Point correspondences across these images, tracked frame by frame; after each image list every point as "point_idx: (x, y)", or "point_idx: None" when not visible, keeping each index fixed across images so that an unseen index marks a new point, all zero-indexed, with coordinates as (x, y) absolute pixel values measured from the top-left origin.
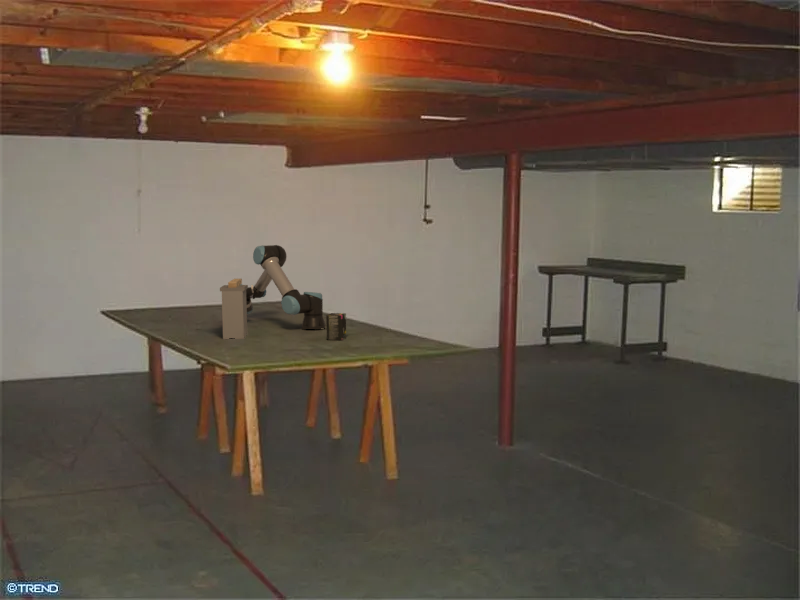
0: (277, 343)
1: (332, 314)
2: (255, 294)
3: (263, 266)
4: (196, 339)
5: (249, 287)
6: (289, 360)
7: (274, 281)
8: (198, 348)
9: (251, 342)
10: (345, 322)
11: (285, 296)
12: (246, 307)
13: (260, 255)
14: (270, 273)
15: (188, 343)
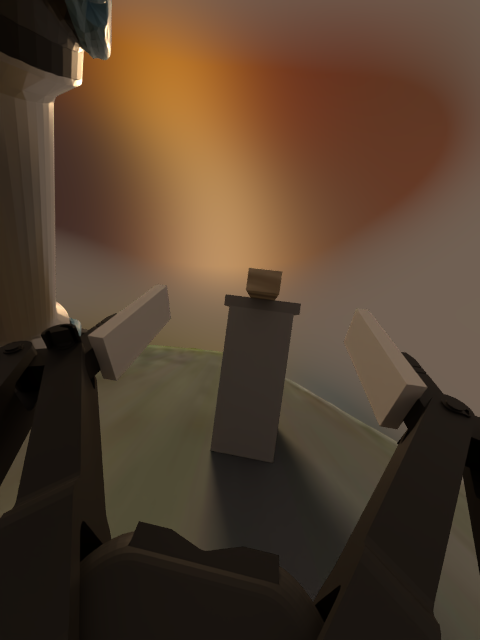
0: (179, 379)
1: (84, 330)
2: (29, 426)
3: (61, 91)
4: (330, 431)
5: None
6: (197, 351)
7: (50, 253)
8: (288, 386)
9: (216, 390)
10: None
11: (79, 322)
12: (222, 365)
13: (111, 4)
14: (53, 191)
15: (322, 408)
